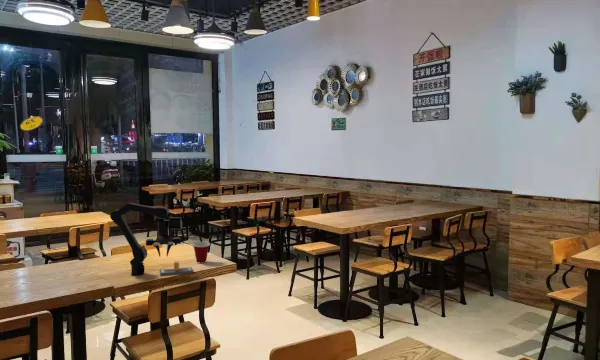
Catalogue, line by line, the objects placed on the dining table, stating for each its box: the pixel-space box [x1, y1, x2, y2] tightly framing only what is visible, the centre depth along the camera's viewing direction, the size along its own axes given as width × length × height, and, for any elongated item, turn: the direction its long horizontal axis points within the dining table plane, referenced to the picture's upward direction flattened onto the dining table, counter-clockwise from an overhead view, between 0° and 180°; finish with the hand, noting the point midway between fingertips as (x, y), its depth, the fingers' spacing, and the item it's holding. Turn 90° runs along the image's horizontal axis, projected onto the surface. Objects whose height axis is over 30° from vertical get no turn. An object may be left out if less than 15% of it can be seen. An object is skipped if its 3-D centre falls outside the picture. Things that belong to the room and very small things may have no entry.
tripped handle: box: [173, 260, 180, 271], centre depth 254 cm, size 2×4×4 cm, turn 20°
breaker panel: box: [159, 266, 194, 277], centre depth 255 cm, size 18×8×2 cm, turn 110°
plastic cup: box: [192, 241, 211, 263], centre depth 279 cm, size 11×11×12 cm
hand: (163, 256), depth 252 cm, fingers open, 4 cm apart
